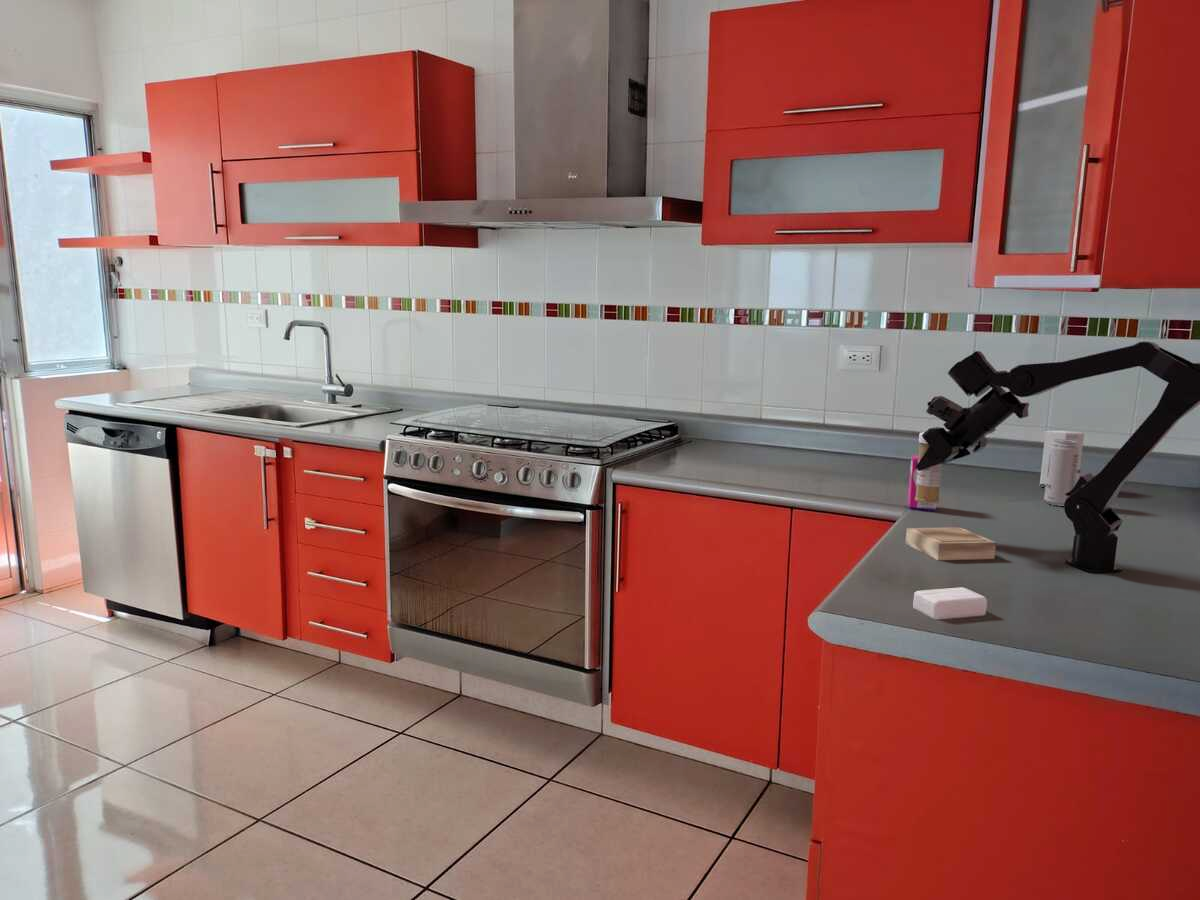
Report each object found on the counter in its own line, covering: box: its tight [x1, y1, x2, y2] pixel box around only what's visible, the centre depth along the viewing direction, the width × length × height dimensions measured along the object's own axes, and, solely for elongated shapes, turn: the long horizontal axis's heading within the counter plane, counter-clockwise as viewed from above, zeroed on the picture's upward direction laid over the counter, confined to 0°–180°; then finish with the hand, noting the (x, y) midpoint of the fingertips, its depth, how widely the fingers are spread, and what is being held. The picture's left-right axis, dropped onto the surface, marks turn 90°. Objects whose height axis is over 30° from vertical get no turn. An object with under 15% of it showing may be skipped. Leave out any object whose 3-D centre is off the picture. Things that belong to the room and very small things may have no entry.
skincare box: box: [1039, 430, 1085, 485], centre depth 227 cm, size 8×6×15 cm
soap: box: [912, 586, 988, 620], centre depth 129 cm, size 9×6×3 cm, turn 108°
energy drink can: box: [1043, 439, 1079, 504], centre depth 207 cm, size 6×6×15 cm
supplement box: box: [907, 455, 938, 512], centre depth 199 cm, size 6×6×12 cm
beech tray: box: [904, 526, 997, 561], centre depth 162 cm, size 11×11×3 cm
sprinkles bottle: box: [915, 431, 943, 504], centre depth 172 cm, size 5×5×14 cm
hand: (922, 467), depth 173 cm, fingers closed on sprinkles bottle, 4 cm apart
